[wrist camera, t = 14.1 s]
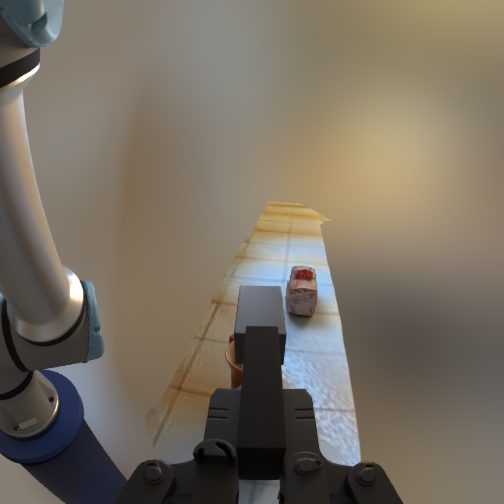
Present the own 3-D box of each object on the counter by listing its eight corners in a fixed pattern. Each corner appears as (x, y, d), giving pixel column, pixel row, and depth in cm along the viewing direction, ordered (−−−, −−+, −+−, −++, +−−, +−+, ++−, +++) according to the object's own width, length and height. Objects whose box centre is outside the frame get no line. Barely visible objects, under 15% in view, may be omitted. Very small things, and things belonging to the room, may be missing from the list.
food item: (316, 320, 70) (321, 284, 66) (284, 318, 71) (286, 282, 67) (313, 292, 82) (317, 260, 79) (285, 291, 83) (287, 258, 80)
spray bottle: (280, 495, 29) (313, 344, 19) (228, 494, 30) (206, 343, 19) (278, 442, 38) (297, 278, 28) (232, 441, 39) (222, 277, 28)
